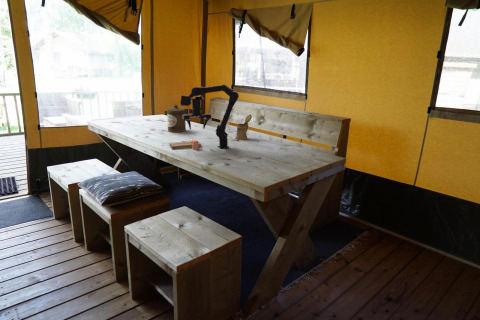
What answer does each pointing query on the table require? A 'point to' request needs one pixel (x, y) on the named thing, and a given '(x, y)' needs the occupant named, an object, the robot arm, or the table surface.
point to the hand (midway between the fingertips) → (197, 129)
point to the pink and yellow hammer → (194, 144)
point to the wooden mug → (243, 129)
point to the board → (182, 145)
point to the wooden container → (176, 119)
